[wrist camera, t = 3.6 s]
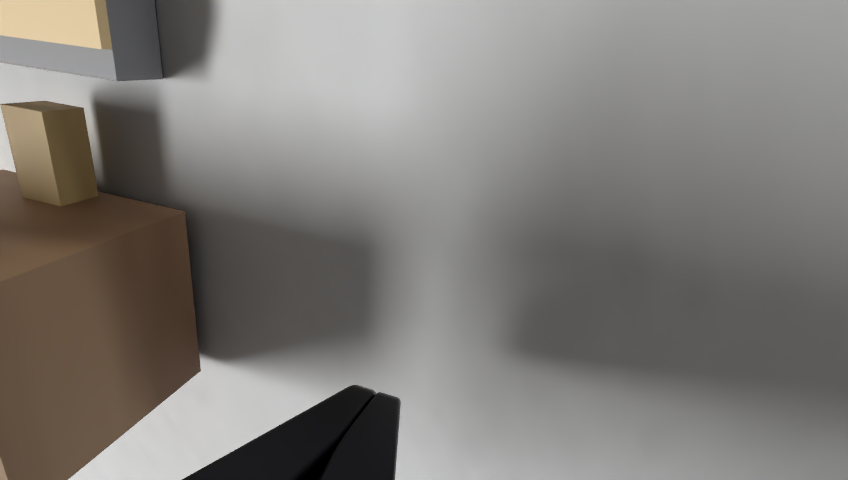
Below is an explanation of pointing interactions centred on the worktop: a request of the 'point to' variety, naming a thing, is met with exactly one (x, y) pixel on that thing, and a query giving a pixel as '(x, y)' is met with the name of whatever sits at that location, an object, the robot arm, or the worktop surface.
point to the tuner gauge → (82, 37)
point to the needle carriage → (82, 301)
